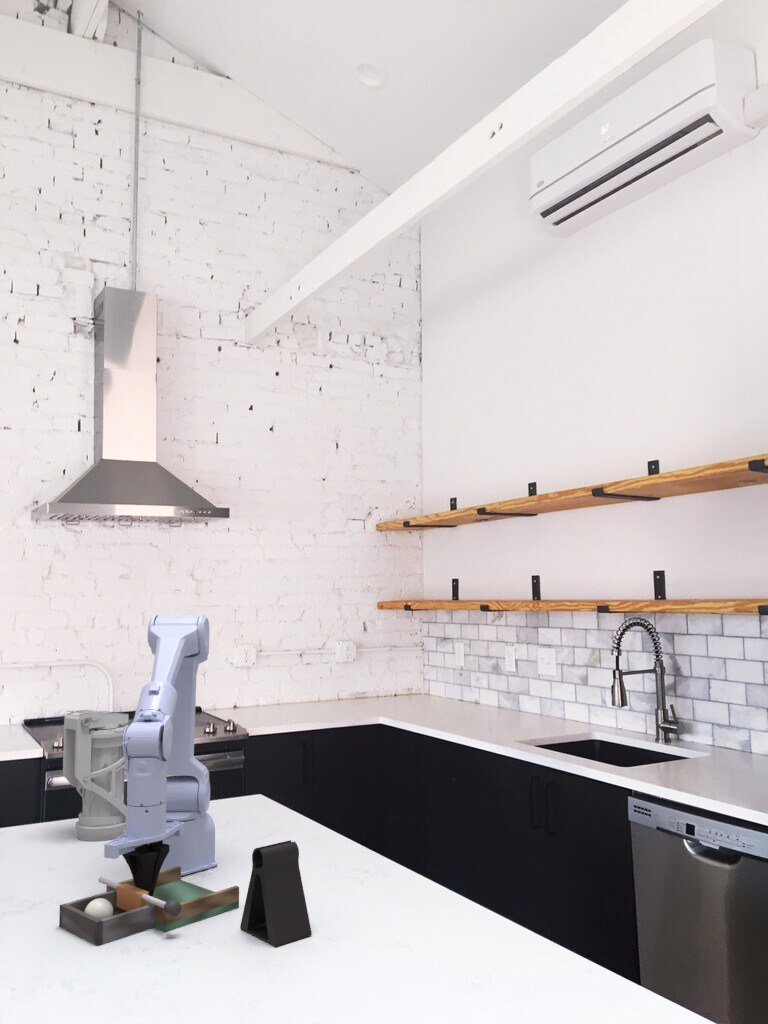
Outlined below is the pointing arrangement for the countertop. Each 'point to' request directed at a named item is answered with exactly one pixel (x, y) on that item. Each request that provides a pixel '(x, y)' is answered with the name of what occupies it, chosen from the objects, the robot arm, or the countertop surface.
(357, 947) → the countertop surface
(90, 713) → the lantern
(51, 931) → the countertop surface
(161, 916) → the pitch
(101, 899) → the ball
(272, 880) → the phone stand
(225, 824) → the countertop surface
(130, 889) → the kicker
